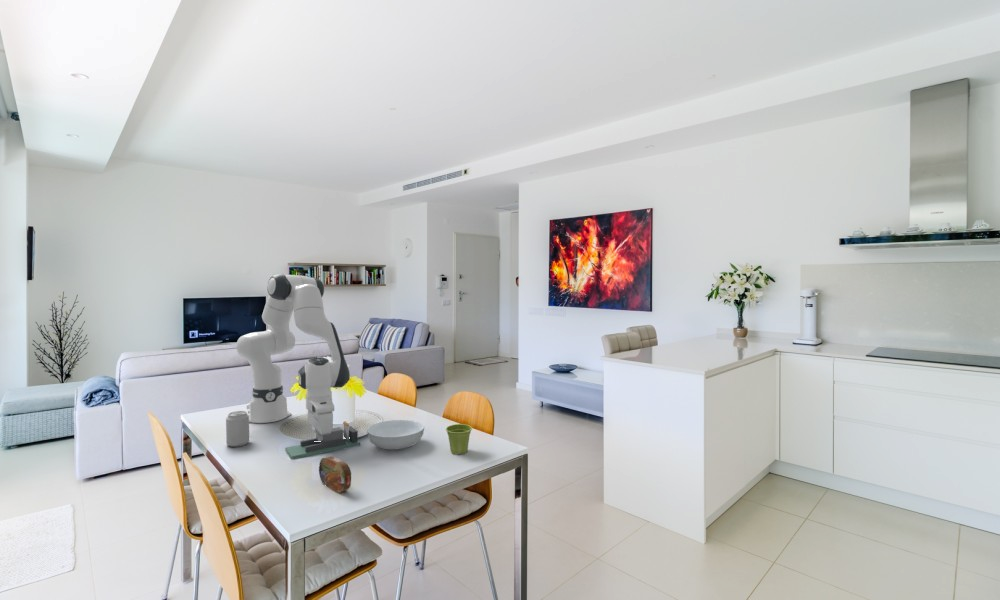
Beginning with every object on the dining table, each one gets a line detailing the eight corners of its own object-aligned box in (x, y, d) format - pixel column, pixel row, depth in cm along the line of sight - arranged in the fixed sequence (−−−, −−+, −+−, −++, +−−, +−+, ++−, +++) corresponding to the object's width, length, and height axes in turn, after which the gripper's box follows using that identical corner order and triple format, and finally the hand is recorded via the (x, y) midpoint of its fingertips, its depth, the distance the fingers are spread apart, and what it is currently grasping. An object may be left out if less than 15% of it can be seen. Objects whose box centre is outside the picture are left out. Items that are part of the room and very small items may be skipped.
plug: (320, 443, 172) (320, 430, 171) (340, 439, 176) (340, 426, 176) (323, 446, 168) (323, 433, 168) (343, 442, 173) (343, 429, 172)
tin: (318, 481, 142) (317, 454, 142) (327, 478, 145) (327, 451, 144) (343, 497, 132) (343, 468, 132) (353, 493, 135) (353, 464, 134)
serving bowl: (435, 443, 176) (435, 425, 176) (394, 460, 159) (394, 441, 159) (397, 432, 188) (397, 415, 188) (355, 447, 171) (355, 429, 170)
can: (239, 448, 169) (238, 416, 168) (221, 446, 170) (220, 414, 170) (254, 441, 176) (253, 410, 176) (237, 440, 178) (236, 409, 177)
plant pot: (464, 458, 161) (464, 433, 161) (440, 453, 165) (441, 430, 165) (476, 449, 170) (476, 426, 169) (454, 445, 174) (454, 422, 173)
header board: (285, 450, 167) (284, 429, 167) (351, 437, 181) (351, 417, 181) (291, 459, 159) (291, 436, 159) (359, 444, 173) (359, 424, 173)
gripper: (303, 397, 175) (303, 433, 176) (317, 410, 159) (317, 450, 159) (320, 395, 179) (320, 430, 180) (335, 407, 162) (336, 446, 163)
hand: (319, 440), depth 169 cm, fingers closed
